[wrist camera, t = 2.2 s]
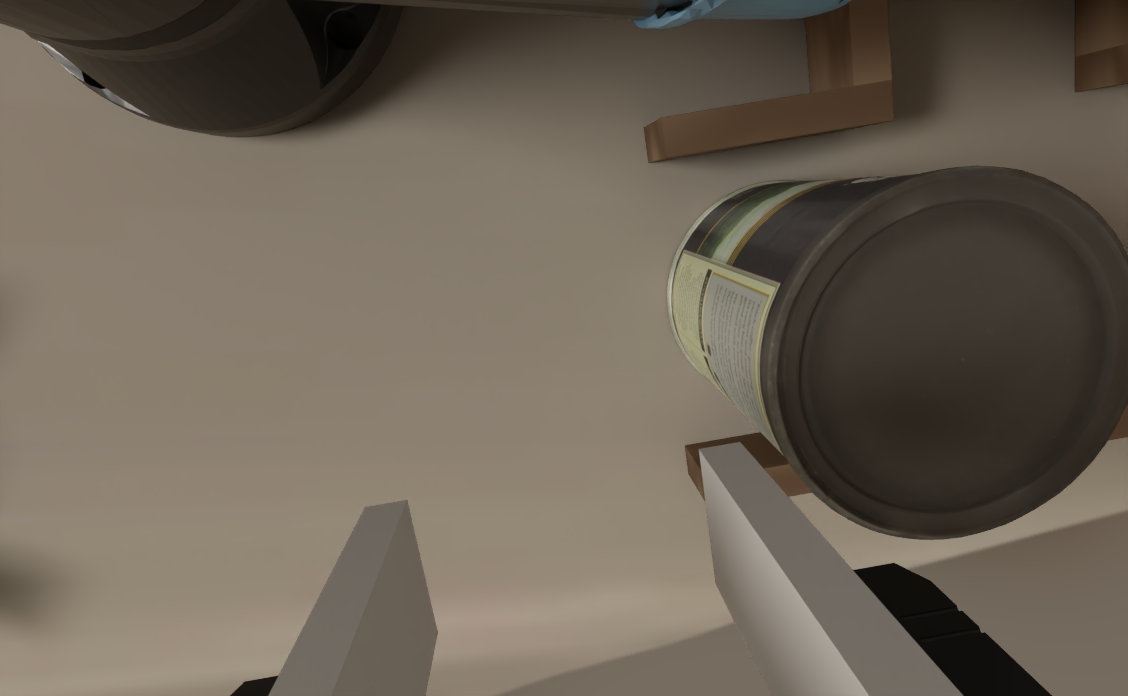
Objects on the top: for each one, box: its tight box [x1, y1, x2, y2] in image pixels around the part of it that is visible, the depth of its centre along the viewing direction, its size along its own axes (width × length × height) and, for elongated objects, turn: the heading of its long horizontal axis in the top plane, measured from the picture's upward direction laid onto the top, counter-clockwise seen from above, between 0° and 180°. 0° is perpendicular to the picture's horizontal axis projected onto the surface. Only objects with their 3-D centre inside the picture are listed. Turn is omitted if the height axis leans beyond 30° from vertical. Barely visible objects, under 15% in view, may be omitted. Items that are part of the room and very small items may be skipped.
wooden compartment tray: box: [644, 0, 1128, 501], centre depth 29 cm, size 23×36×5 cm, turn 99°
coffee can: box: [667, 166, 1128, 540], centre depth 25 cm, size 10×10×14 cm
